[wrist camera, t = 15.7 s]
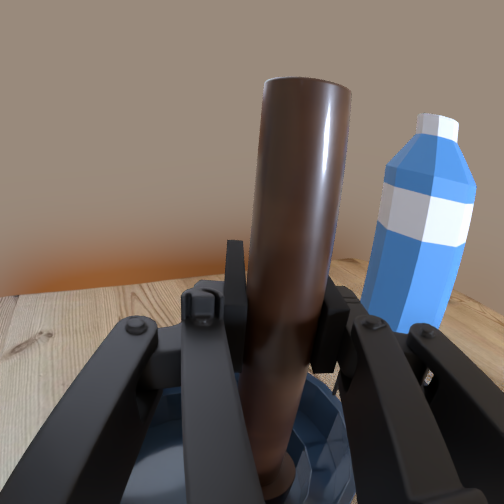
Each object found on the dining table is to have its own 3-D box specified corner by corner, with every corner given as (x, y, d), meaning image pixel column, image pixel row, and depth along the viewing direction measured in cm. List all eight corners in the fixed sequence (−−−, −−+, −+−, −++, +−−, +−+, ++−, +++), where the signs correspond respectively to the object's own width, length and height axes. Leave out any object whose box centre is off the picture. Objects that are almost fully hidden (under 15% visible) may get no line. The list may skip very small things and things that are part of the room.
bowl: (44, 520, 10) (-6, 469, 8) (148, 382, 25) (141, 321, 23) (310, 613, 7) (351, 603, 5) (335, 425, 22) (358, 365, 20)
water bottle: (439, 366, 29) (500, 135, 21) (376, 386, 27) (442, 105, 18) (394, 325, 38) (435, 127, 29) (334, 335, 35) (372, 107, 27)
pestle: (204, 505, 13) (211, 65, 7) (226, 453, 17) (252, 93, 11) (281, 523, 13) (396, 82, 6) (293, 467, 17) (371, 106, 10)
